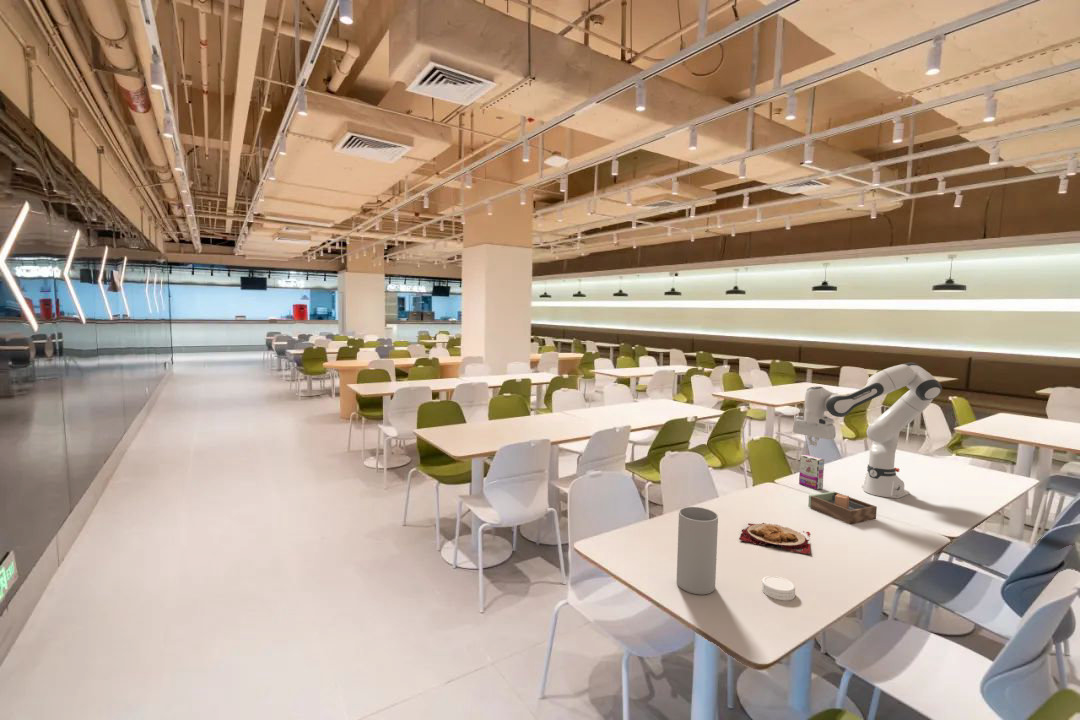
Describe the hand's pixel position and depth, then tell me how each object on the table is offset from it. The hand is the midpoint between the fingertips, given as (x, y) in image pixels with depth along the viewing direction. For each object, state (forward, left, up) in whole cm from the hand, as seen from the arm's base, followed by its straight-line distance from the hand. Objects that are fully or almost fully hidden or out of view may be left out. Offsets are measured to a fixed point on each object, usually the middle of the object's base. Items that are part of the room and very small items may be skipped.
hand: (813, 445), depth 253 cm
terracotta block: (+6, +22, -25) cm, 33 cm away
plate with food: (+56, +30, -28) cm, 70 cm away
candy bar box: (-14, -12, -27) cm, 33 cm away
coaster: (+90, +63, -27) cm, 113 cm away
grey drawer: (+6, +21, -27) cm, 34 cm away
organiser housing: (+6, +22, -27) cm, 36 cm away
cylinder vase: (+113, +50, -27) cm, 126 cm away
